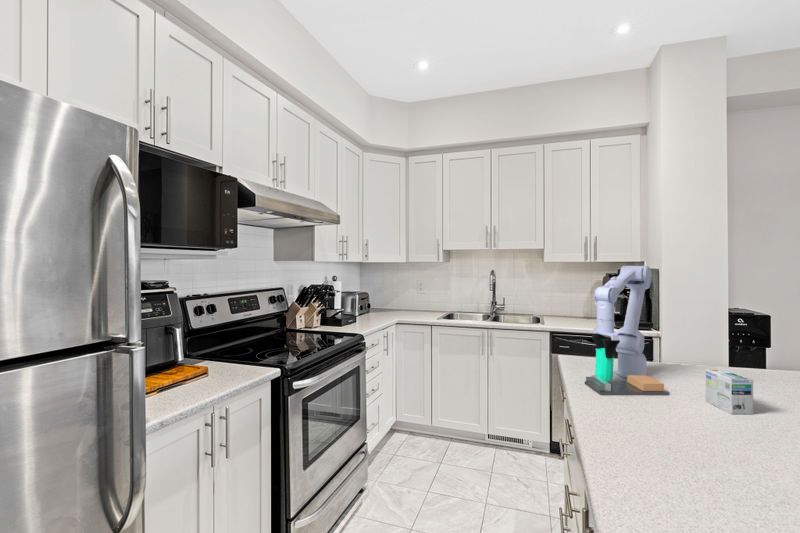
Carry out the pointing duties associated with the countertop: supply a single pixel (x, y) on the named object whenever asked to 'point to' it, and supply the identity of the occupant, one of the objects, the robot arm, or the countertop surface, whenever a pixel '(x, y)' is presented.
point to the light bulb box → (729, 391)
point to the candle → (603, 365)
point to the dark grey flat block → (617, 387)
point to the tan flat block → (645, 383)
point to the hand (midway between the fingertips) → (605, 355)
